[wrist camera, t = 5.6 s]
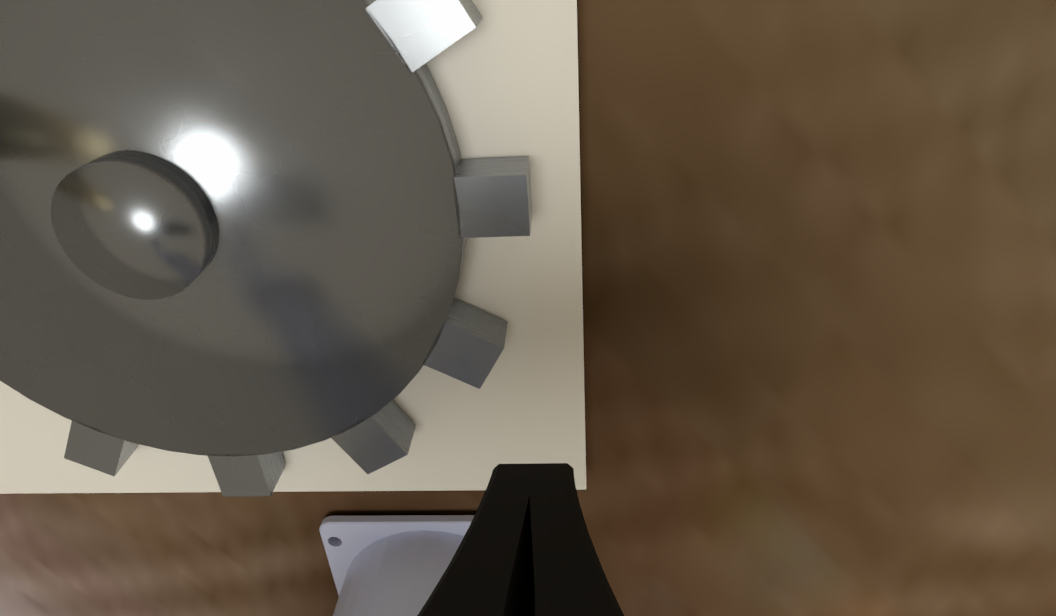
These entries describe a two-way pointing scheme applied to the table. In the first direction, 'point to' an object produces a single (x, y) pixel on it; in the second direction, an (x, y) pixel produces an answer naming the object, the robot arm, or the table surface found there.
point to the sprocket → (238, 225)
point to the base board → (485, 282)
